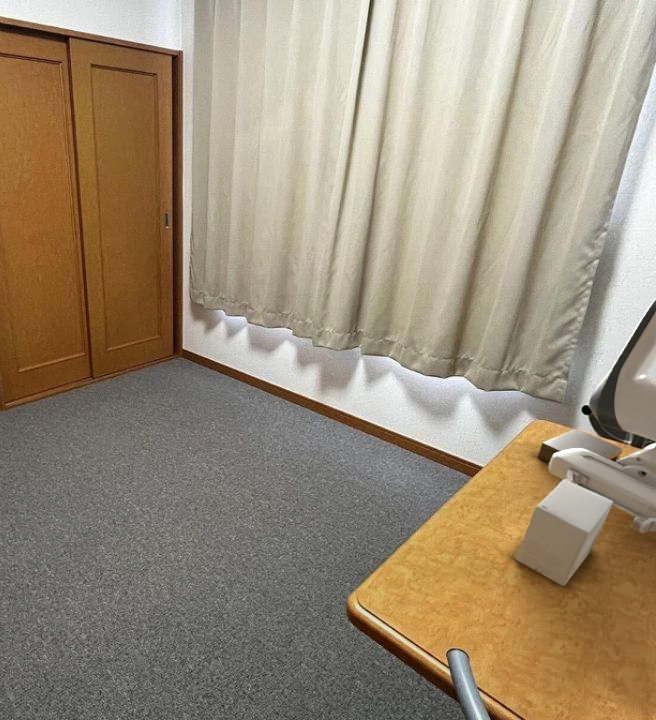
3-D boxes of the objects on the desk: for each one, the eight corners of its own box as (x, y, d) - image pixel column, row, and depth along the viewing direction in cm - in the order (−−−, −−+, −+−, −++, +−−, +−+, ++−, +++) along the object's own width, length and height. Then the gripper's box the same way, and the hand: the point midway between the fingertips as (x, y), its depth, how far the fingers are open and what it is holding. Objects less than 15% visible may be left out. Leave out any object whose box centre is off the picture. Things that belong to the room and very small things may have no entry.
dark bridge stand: (616, 466, 90) (623, 448, 89) (582, 482, 86) (589, 464, 85) (569, 445, 97) (575, 428, 96) (536, 459, 93) (542, 442, 91)
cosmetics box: (565, 590, 66) (590, 532, 61) (513, 561, 70) (533, 505, 66) (591, 555, 71) (616, 499, 67) (541, 530, 76) (561, 477, 72)
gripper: (581, 433, 85) (533, 453, 79) (744, 503, 68) (696, 534, 62) (570, 462, 87) (523, 483, 82) (724, 536, 70) (677, 569, 65)
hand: (599, 506), depth 72 cm, fingers open, 8 cm apart
